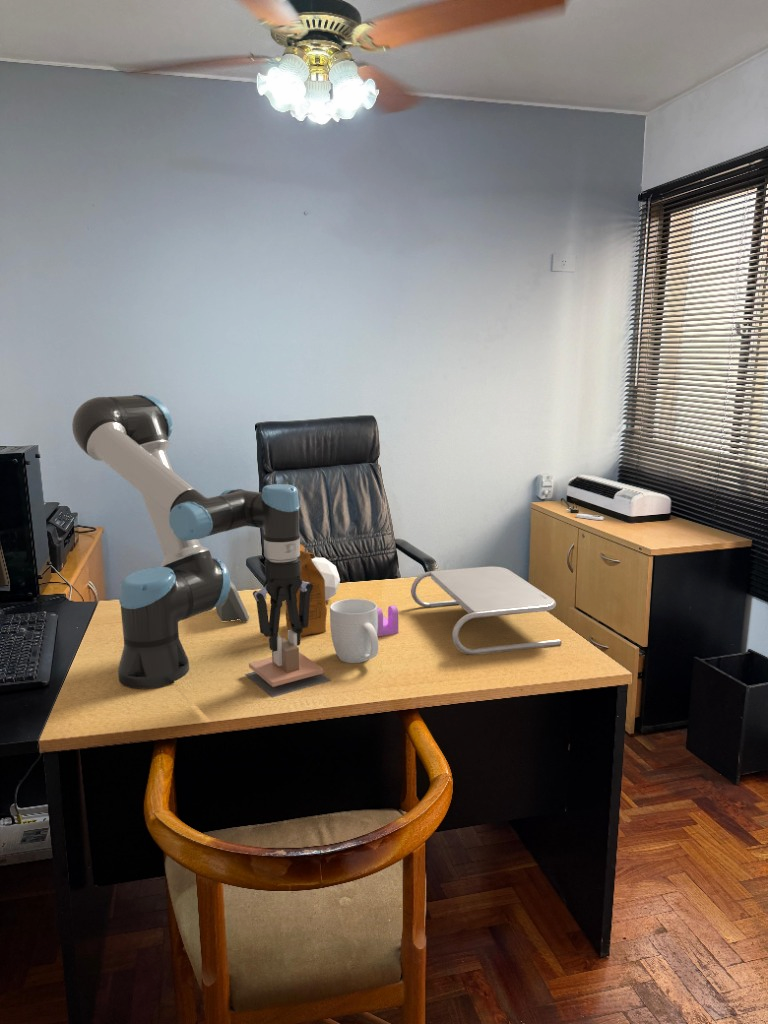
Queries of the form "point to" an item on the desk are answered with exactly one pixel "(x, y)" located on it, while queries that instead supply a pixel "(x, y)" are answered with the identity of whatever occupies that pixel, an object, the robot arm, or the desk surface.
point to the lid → (286, 666)
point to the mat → (287, 684)
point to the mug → (354, 629)
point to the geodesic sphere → (328, 576)
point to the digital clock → (232, 607)
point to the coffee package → (311, 595)
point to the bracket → (387, 621)
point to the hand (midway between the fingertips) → (285, 661)
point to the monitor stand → (488, 599)
